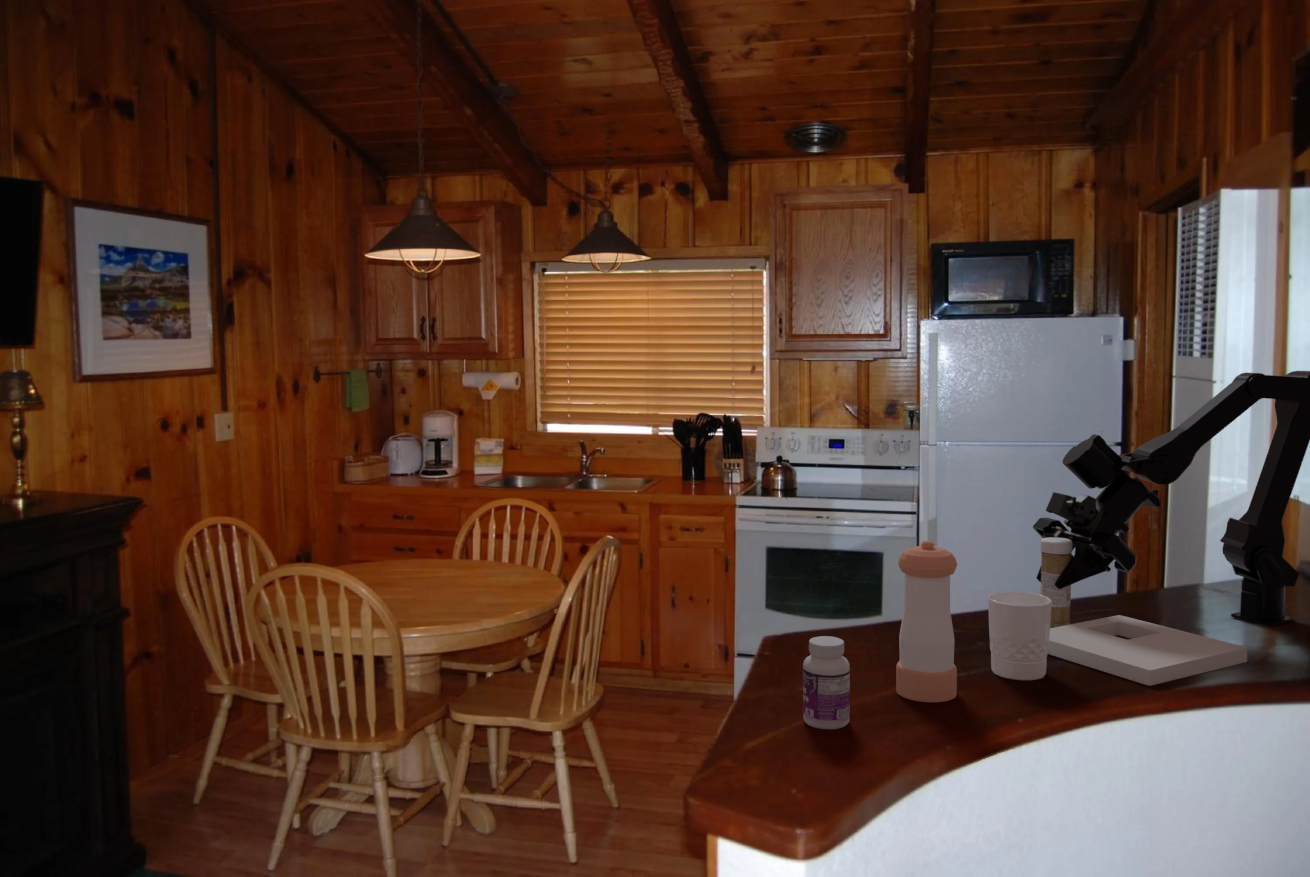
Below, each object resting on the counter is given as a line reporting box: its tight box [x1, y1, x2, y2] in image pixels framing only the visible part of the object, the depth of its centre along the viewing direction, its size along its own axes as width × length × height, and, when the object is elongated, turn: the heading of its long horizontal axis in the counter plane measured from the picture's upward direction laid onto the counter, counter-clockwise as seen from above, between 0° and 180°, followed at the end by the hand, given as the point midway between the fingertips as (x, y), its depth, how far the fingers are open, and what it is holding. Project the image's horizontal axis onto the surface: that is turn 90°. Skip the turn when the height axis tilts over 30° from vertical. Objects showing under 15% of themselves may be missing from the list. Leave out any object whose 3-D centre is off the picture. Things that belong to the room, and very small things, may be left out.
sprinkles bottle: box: [1039, 537, 1073, 628], centre depth 157 cm, size 5×5×13 cm
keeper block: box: [1048, 614, 1248, 686], centre depth 142 cm, size 20×20×2 cm
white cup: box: [987, 591, 1052, 681], centre depth 135 cm, size 8×8×10 cm
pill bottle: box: [802, 635, 851, 730], centre depth 117 cm, size 5×5×10 cm
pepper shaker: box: [895, 540, 958, 703], centre depth 127 cm, size 7×7×19 cm
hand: (1047, 583), depth 157 cm, fingers closed on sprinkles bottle, 4 cm apart
